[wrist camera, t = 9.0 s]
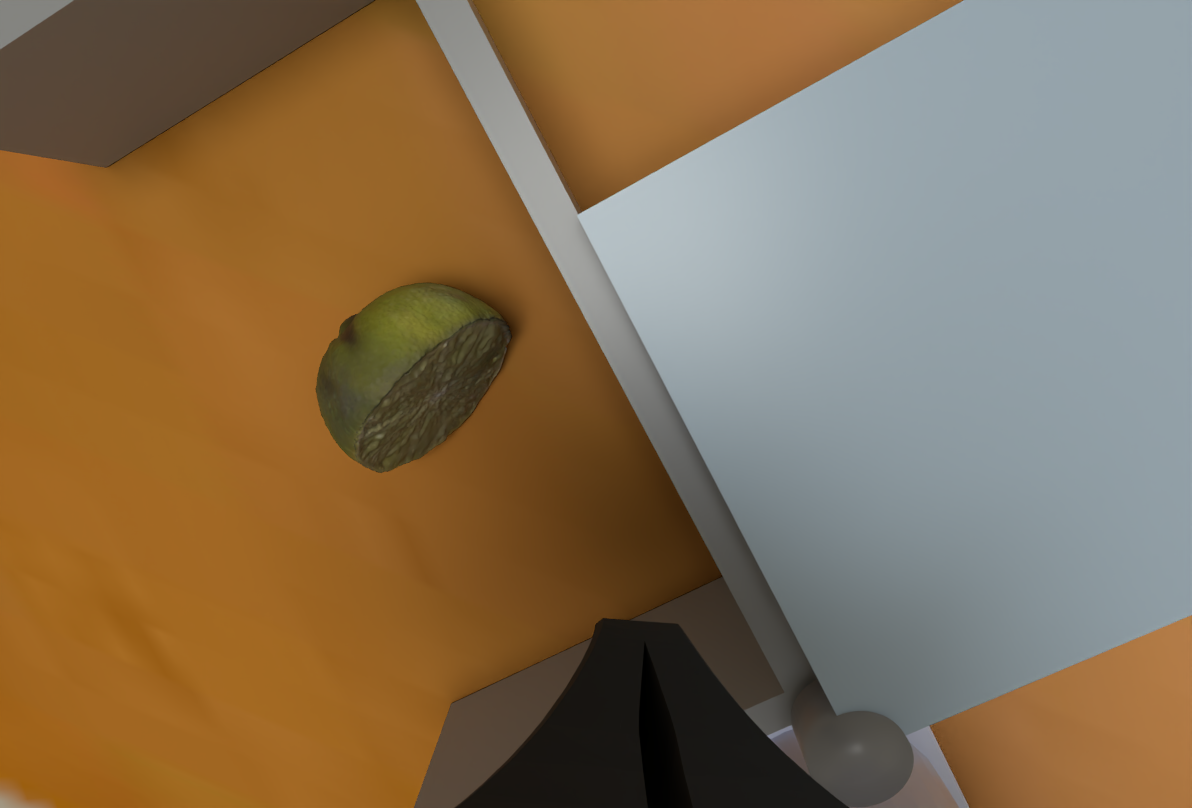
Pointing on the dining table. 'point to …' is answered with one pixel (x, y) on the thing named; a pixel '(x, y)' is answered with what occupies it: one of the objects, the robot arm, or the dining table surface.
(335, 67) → the dining table surface
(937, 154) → the cover
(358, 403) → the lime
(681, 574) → the dining table surface
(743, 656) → the grey angular open frame
